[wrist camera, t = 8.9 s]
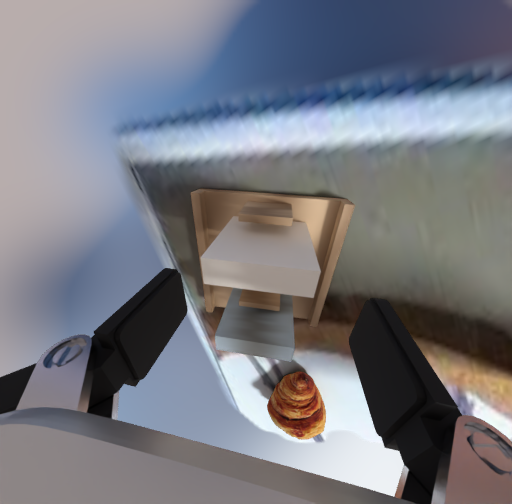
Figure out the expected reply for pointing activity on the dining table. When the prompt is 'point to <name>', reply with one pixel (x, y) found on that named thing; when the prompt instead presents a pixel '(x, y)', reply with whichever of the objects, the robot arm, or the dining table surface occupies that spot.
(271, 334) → the dish rack
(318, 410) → the croissant
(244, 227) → the low beige gift box
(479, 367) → the dining table surface
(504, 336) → the dining table surface
